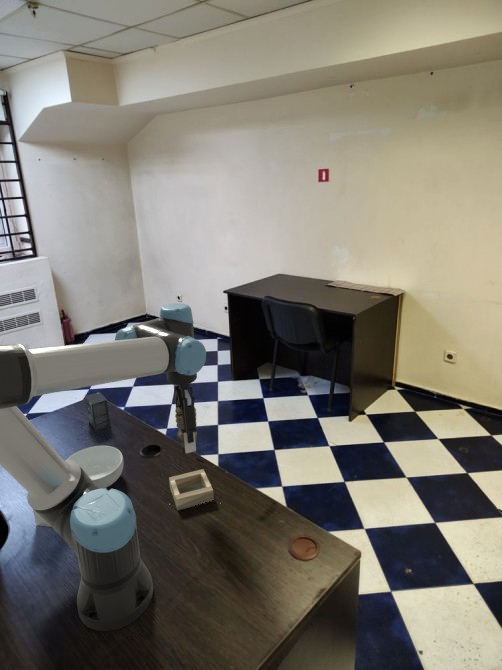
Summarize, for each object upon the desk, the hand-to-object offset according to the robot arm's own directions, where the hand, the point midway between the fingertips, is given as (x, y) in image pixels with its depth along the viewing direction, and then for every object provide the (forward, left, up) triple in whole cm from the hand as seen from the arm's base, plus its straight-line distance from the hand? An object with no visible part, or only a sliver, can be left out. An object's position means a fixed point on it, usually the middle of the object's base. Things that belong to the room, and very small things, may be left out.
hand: (188, 445), depth 119 cm
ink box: (+6, +36, -16) cm, 39 cm away
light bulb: (0, 0, -3) cm, 3 cm away
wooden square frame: (0, 0, -16) cm, 16 cm away
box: (+51, +22, -16) cm, 58 cm away
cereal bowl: (+16, +25, -16) cm, 33 cm away
